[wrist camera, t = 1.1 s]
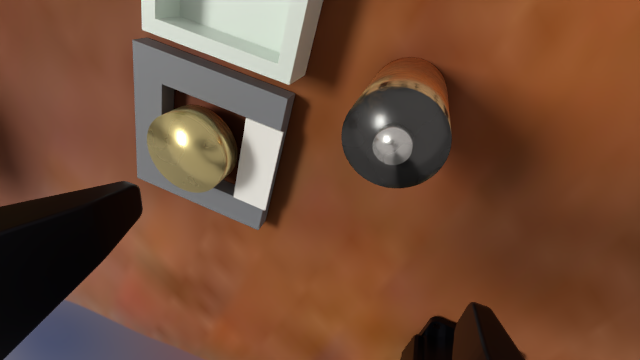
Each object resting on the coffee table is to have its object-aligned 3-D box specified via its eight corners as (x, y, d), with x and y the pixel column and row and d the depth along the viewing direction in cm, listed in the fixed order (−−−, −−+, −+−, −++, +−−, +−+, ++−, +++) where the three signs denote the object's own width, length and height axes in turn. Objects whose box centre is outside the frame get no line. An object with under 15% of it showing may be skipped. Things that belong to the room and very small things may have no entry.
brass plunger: (242, 122, 20) (226, 132, 19) (232, 190, 23) (217, 204, 21) (167, 92, 21) (146, 100, 19) (166, 162, 24) (147, 174, 22)
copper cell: (461, 72, 17) (475, 116, 11) (426, 143, 19) (422, 211, 13) (385, 46, 17) (357, 73, 11) (359, 117, 19) (325, 172, 13)
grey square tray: (298, 94, 20) (290, 100, 19) (267, 221, 25) (260, 232, 24) (147, 37, 21) (131, 40, 20) (149, 170, 26) (136, 178, 25)
